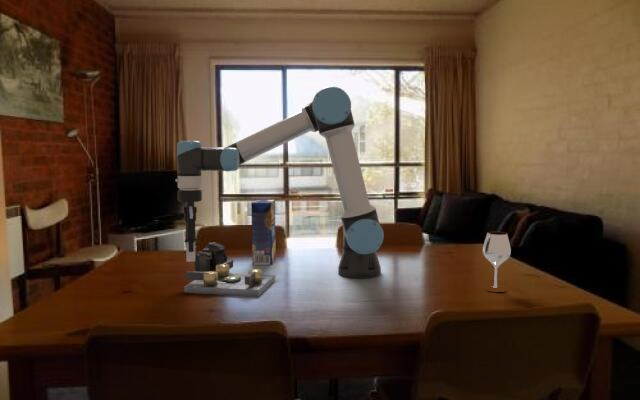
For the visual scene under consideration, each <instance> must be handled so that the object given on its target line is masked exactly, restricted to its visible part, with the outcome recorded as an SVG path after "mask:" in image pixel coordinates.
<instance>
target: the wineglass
mask: <svg viewBox="0 0 640 400" xmlns="http://www.w3.org/2000/svg"><path fill="white" fill-rule="evenodd" d="M511 251H512V248H511V244H510V240H509V236H508V232H503V231H489V232H487V233H486V236H485V239H484V243H483V246H482V254H483V256H484V257H485V259H486V260H487V261H488V262H489V263H490V264H491V265H493V267H494V275H493V276H494V279H493V281H494V282H493V286H492V287H493V288H497V287H498V268H499V267H500V266H501V265H502V264H503V263H505V262H506V261H508V259H509V258H510V257H511V253H512V252H511Z"/></svg>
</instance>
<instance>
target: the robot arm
mask: <svg viewBox="0 0 640 400" xmlns="http://www.w3.org/2000/svg"><path fill="white" fill-rule="evenodd" d="M352 112H353V111H352V101H351V98H350V96H349V94H348V93H347V92H346V91H345V90H344V89H342V88H340V87H338V86H327V87H323V88H321V89H320V90H318V91H317V92H316V93H315V95H314V97H313V99H312V101H311V102H310V103H308V104H306V105H304V106H302V108H301V111H299V112H296V113H294V114H291V116H289V117H286V118H284V119H282V120H280V121H278V122H276V123H273V124H272V125H270V126H268V127H265V128H263V129H261V130H259V131H257V132H255V133H252V134H251V135H248V136H247V137H244V138H242V139H241V140H238V141H236V142H234V143H232V144H230V145H227V146H225V147H224V146H223V147H220V146H219V147H216V146H214V147H205V146H204V147H203V146H202V143H201V141H198V140H180V141H178V142H177V146H176V169H177V171H176V172H177V173H176V174H177V175H176V176H177V178H175V182H176V183H177V188H178V190H177V201H178V202H180V203H185V206H183V213H184V217H183V218H184V221H185V239H184V241H183V242H184V243H185V245H186V246H185V247H186V249H185V250H186V254H185V255H186V262H187V263H189V262H190V263H192V262H195V254H196V241H197V238H196V221H197V211H198V209H197V206H195V203H196V202H197V203H198V202H201V201H202V200H203V197H202V195H203V193H202V192H203V191H202V190H201V188H202V187H203V183H202V182H203V181H202V180H203V179H202V178H203V177H202V176H203V175H202V172H203V171H204V172H205V171H209V172H210V171H211V172H236V171H238V170H239V166H240V165H243V164H244V163H246V162H248V161H250V160H253V159H255V158H257V157H259V156H261V155H263V154H265V153H267V152H270V151H273V150H274V149H276V148H278V147H280V146H282V145H285V144H286V143H289V142H291V141H293V140H295V139H297V138H299V137H301V136H304V135H306V134H307V133H309V132H313V133H316V132H318V134H319V135H320V136H321V137H323V138H325V141H326V146H327V151H328V153H329V157H330V161H331V164H332V170H333V174H334V176H335V177H334V178H335V181H336V184H337V188H338V192H339V195H340V201H341V204H342V208H343V211H342V213H341V215H340V218H341V222H342V225H343V226H342V228H343V229H342V230H343V231H342V233H343V234H342V235H343V237H342V238H343V239H342V241H343V244H342V248H343V250H342V254H341V258H340V260H339V264H338V268H337V269H338V271H337V272H338V274H339V275H341V276H343V277H347V278H352V279H369V278H375V277H378V276H379V275H381V273H382V271H381V267H382V266H381V263H380V260H379V258H378V254H377V251H378V250H379V249H380V248H381V246H382V244H383V241H384V237H385V236H384V235H385V233H384V230H383V227H382V226H381V225H380V221H379V216H378V212H377V209H376V206H374V205H372V204H371V203H370V200H369V196H368V192H367V188H366V184H365V179H364V176H363V173H362V168H361V164H360V160H359V156H358V152H357V149H356V145H355V141H354V137H353V132H352V131H353V129H354V127H355V126H356V125H355V119H354V117H353V113H352Z"/></svg>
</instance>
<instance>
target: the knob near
mask: <svg viewBox="0 0 640 400" xmlns="http://www.w3.org/2000/svg"><path fill="white" fill-rule="evenodd" d="M185 280H188V281H189V280H190V281H194V280H204V284H205V285H214V284H217V283H218V272H216V270H212V271H208V272H197V271H196V270H194V271H193V270H191V271H190V270H187V271H186V272H185Z"/></svg>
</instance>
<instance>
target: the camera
mask: <svg viewBox="0 0 640 400" xmlns="http://www.w3.org/2000/svg"><path fill="white" fill-rule="evenodd" d="M225 249H226V247H225V246H224V245H222V244H220V243H219V242H218V243H217V242H214V241H213V242H208V244H207V245H206V246H204V248H203V249H202V250H200V251H198V252H195V261H194V271H197V272H208V271H216V265H219V264H223V263H225V262H227V261H228V256H227V254H226V252H225Z"/></svg>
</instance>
